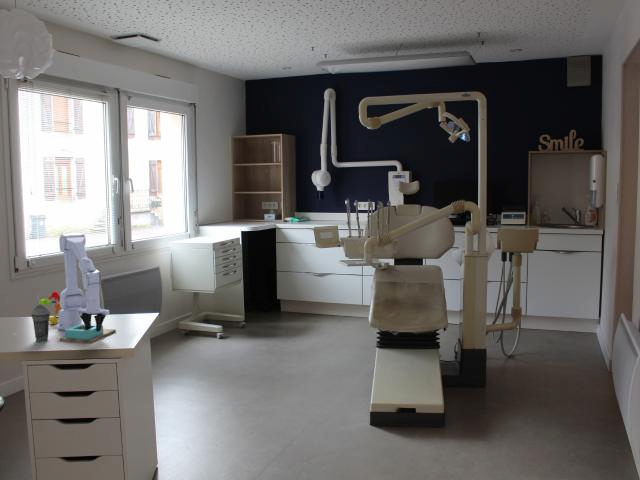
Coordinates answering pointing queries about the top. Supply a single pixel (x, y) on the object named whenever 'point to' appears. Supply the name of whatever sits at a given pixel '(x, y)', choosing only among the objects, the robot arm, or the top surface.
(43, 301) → the educational toy
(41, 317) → the beverage cup
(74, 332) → the loop
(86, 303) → the robot arm
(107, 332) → the peg board
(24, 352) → the top surface
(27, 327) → the top surface
